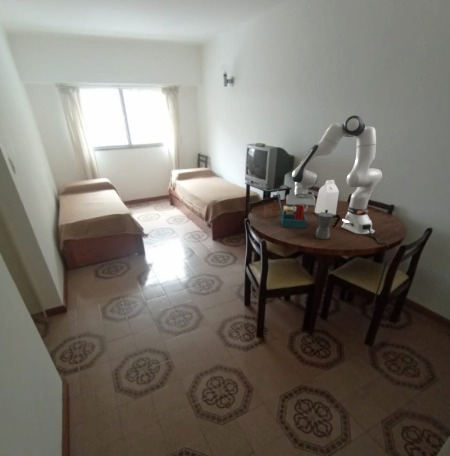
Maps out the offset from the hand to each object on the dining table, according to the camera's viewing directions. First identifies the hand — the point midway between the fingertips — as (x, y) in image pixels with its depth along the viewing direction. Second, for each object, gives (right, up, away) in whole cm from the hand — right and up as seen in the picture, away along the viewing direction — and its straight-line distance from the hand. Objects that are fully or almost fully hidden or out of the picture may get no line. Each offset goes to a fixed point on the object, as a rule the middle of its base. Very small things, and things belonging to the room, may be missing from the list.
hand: (300, 211), depth 194 cm
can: (0, -7, +4) cm, 8 cm away
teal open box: (-4, -8, +6) cm, 11 cm away
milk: (+28, +4, +28) cm, 40 cm away
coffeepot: (+12, -19, -14) cm, 27 cm away
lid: (-14, +5, +1) cm, 15 cm away
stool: (-3, -1, +20) cm, 20 cm away
